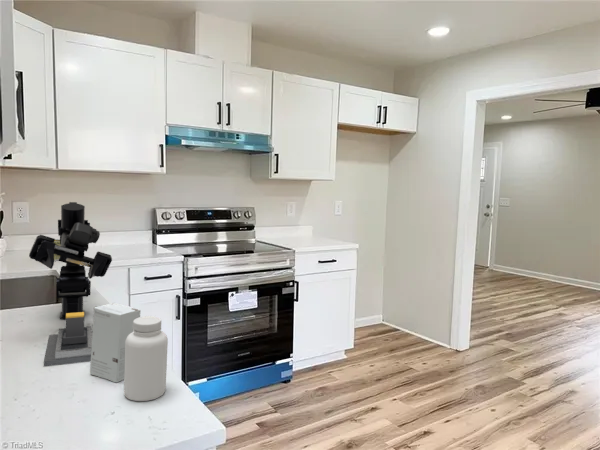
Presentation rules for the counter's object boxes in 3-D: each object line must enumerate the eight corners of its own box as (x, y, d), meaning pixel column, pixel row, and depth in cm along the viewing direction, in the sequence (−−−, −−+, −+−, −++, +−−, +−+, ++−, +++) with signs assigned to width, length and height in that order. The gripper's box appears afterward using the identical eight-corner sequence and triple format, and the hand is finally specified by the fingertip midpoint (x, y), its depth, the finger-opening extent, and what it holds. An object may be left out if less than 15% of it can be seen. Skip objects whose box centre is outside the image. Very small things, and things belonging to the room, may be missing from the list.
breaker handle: (63, 339, 110) (64, 312, 110) (85, 337, 112) (86, 311, 112) (63, 344, 107) (63, 317, 106) (86, 342, 109) (86, 315, 108)
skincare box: (89, 374, 94) (90, 307, 93) (111, 365, 100) (112, 301, 99) (118, 384, 91) (119, 314, 90) (139, 373, 96) (141, 307, 95)
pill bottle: (149, 406, 83) (151, 328, 81) (114, 397, 85) (116, 322, 84) (174, 388, 90) (176, 317, 89) (141, 381, 93) (143, 311, 92)
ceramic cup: (53, 263, 211) (53, 242, 210) (35, 261, 212) (35, 240, 211) (71, 258, 223) (72, 239, 222) (54, 257, 225) (54, 238, 224)
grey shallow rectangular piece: (49, 339, 113) (49, 328, 113) (100, 334, 118) (100, 324, 118) (43, 366, 97) (43, 354, 97) (102, 359, 102) (103, 348, 102)
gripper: (47, 207, 115) (43, 232, 102) (118, 230, 125) (122, 255, 112) (31, 243, 117) (25, 272, 104) (102, 263, 127) (104, 291, 114)
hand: (71, 272), depth 108 cm, fingers open, 9 cm apart
